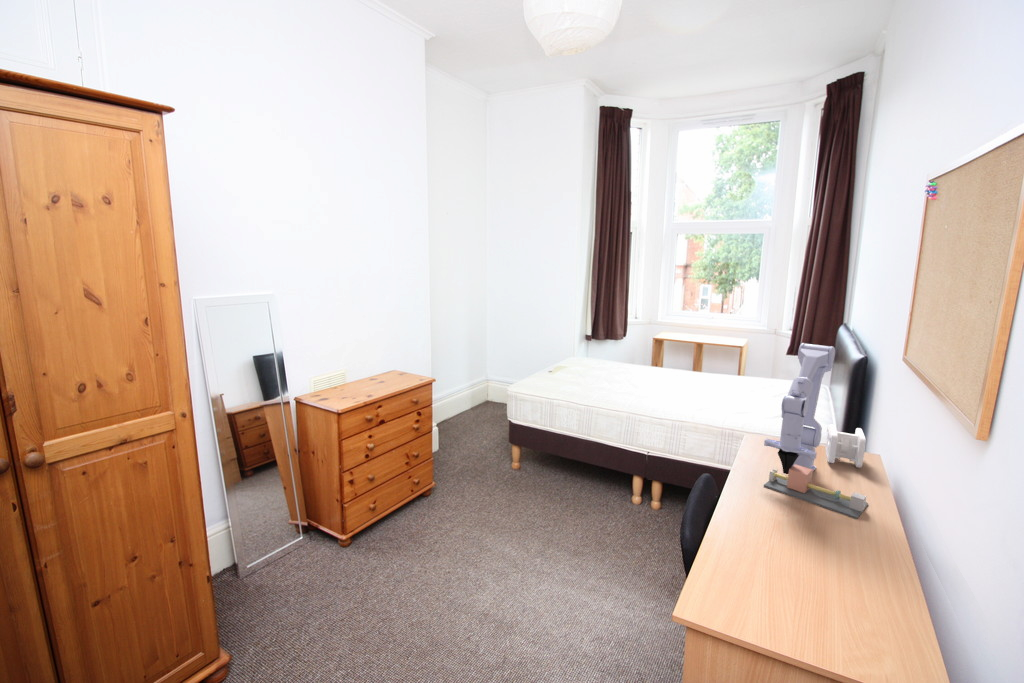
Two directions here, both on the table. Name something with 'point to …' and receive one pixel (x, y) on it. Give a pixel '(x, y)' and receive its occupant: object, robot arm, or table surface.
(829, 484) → the table surface
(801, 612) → the table surface
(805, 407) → the robot arm
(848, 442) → the cable organizer
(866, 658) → the table surface
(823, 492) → the cord rig
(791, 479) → the marker sleeve
